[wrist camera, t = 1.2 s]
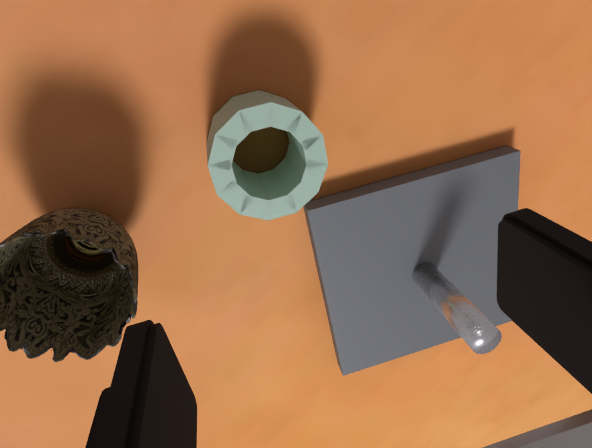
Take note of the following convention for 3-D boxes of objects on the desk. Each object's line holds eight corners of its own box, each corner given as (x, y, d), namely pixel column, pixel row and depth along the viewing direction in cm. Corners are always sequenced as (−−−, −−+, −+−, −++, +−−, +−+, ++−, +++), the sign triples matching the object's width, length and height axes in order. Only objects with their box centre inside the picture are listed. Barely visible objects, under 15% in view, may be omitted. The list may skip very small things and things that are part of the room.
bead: (194, 106, 25) (193, 121, 21) (295, 81, 26) (314, 90, 21) (224, 199, 28) (228, 231, 23) (314, 175, 28) (334, 201, 24)
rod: (411, 266, 32) (471, 333, 25) (434, 259, 32) (502, 323, 25) (413, 287, 33) (471, 357, 26) (436, 279, 33) (501, 348, 26)
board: (302, 203, 29) (307, 211, 28) (506, 145, 31) (520, 150, 29) (337, 363, 36) (342, 375, 35) (501, 310, 38) (512, 320, 37)
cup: (63, 156, 25) (7, 206, 18) (173, 216, 28) (164, 279, 21) (9, 250, 26) (-62, 330, 19) (118, 297, 29) (92, 381, 22)
